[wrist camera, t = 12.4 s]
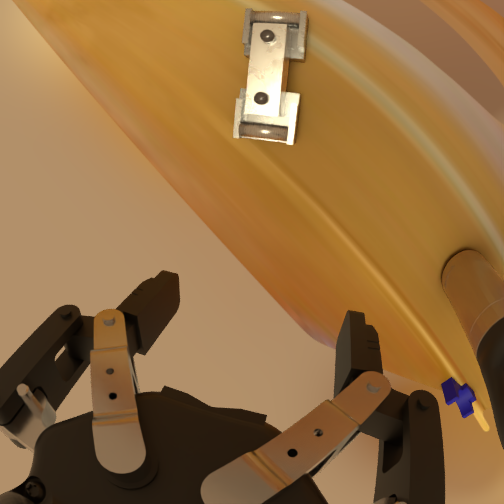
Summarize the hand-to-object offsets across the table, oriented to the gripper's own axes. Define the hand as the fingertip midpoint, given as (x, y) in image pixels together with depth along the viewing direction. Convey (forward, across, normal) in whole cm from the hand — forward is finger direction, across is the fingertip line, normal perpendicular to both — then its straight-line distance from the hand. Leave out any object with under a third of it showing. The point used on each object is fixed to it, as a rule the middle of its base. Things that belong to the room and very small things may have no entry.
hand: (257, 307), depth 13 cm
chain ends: (+32, +6, -14) cm, 35 cm away
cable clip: (+33, -46, +39) cm, 69 cm away
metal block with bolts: (+30, +6, -14) cm, 33 cm away
